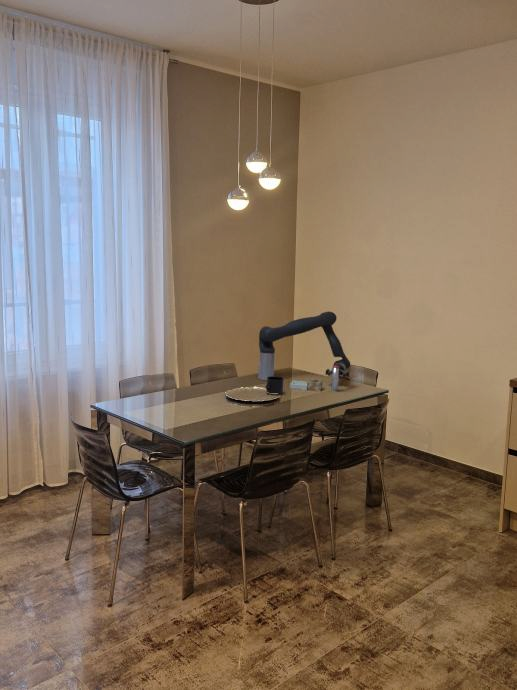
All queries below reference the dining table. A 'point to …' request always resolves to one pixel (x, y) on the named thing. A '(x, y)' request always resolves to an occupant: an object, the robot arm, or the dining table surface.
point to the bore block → (314, 384)
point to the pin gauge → (335, 378)
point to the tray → (298, 385)
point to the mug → (274, 384)
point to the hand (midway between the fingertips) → (336, 375)
